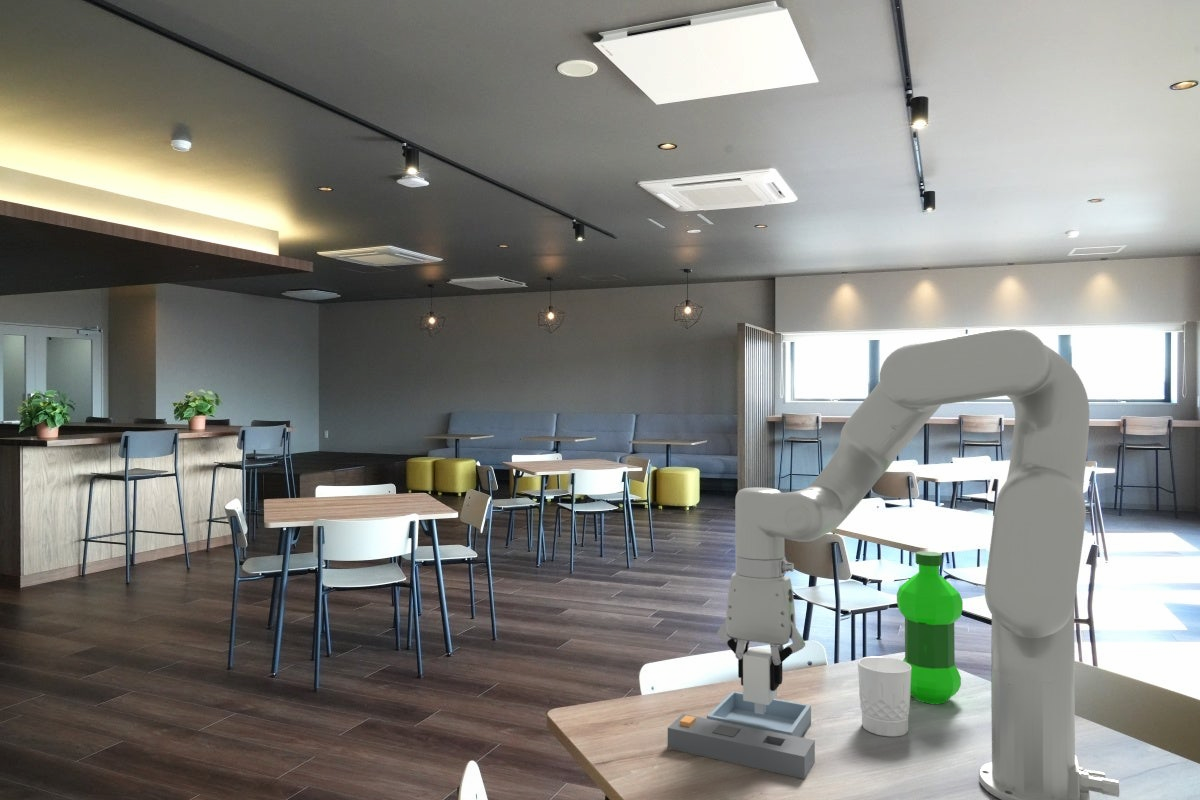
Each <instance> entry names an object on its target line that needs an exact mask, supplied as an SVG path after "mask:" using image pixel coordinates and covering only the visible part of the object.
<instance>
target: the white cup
mask: <svg viewBox="0 0 1200 800" xmlns="http://www.w3.org/2000/svg"><path fill="white" fill-rule="evenodd" d="M857 667H858V668H857V669H858V672H857V673H858V688H859V690H858V691H859V692H858V693H859V701H860V702H859V703H860V709H861V723H862V724H861V725H862V728H863V729H865V730H866V731H867V732H869V733H872V734H874V735H876V736H877V735H878V736H881V737H893V738H894V737H901V736H904V735H906V734H907V733H908V732H909V714H910V704H911V669H912V667H911V665H910V664H908V663H906V662H904V661H903V660H901V659H898V658H894V657H887V656H875V655H874V656H866V657H865V656H864V657H862V658H859V659H858V660H857Z"/></svg>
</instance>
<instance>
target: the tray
mask: <svg viewBox="0 0 1200 800" xmlns="http://www.w3.org/2000/svg"><path fill="white" fill-rule="evenodd" d="M706 719H711V720H716V721H721V722H726V723H731V724H736V725H741V726H746V727H751V728H756V729H762V730H767V731H772V732H777V733H782V734H787V735H792V736H797V737H802V738H804V736H805V734H806V733H807V731H808V729H809V728H810V727H811V725H812V705H811V704H807V703H801V702H797V701H789V700H785V699H784V700H783V699H779V698H774V700H773V701H772V702H771V703H770V704H769V705H766V712H765V713H764V714H758V713H755V707H754V702H748V701H743V692H740V691H734V690H732V691H730V692H729V693H728V694H727V696H725V697H724V698H723V699H722V700H721V701H720V702H719V703H718V704H717V705H716V706H715V707H714V708H713V709H712V710H711V711H710V712H709V713H708V714H707V715H706Z"/></svg>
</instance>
